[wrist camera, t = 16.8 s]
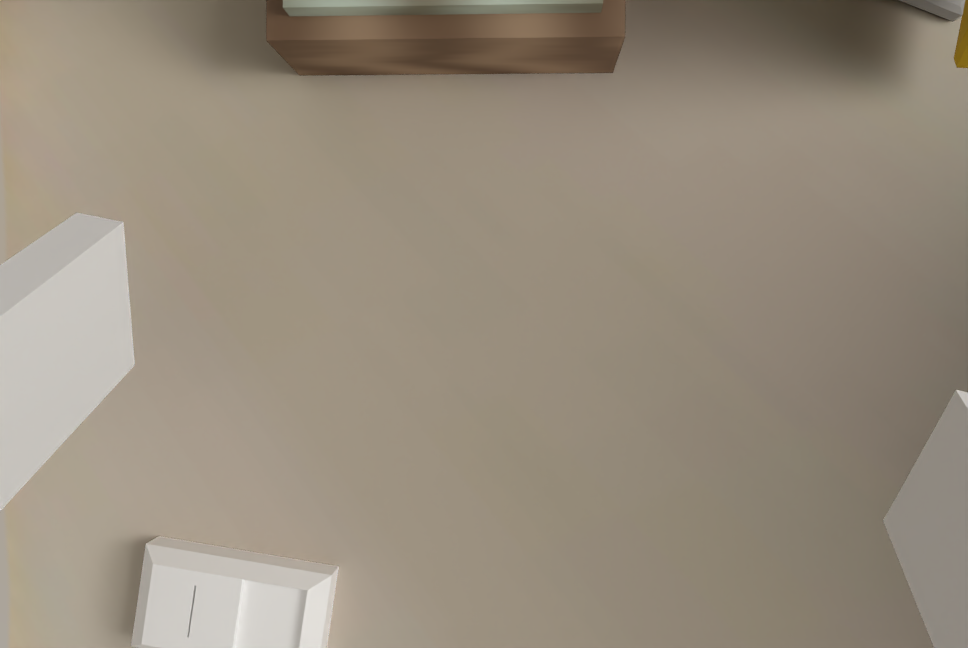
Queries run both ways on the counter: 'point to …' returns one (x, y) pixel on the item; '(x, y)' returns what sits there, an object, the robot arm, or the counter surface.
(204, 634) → the white beveled block
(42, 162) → the counter surface
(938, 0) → the toy computer monitor
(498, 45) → the plinth
